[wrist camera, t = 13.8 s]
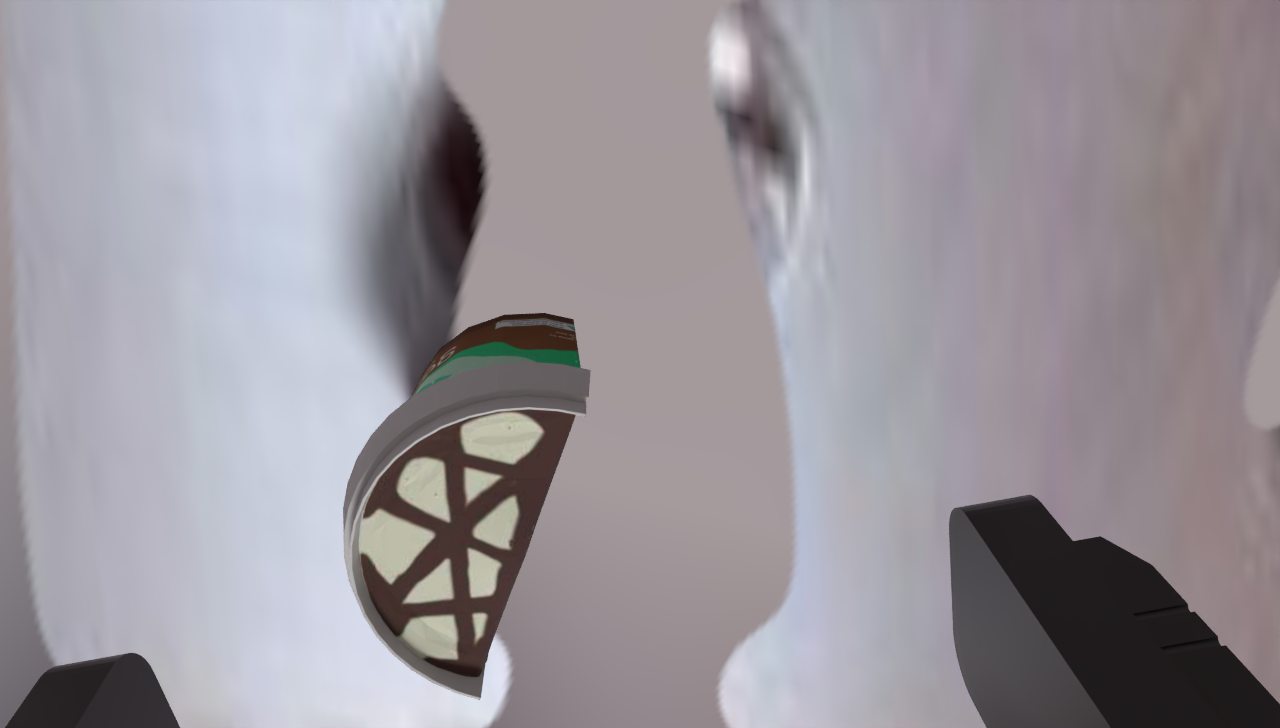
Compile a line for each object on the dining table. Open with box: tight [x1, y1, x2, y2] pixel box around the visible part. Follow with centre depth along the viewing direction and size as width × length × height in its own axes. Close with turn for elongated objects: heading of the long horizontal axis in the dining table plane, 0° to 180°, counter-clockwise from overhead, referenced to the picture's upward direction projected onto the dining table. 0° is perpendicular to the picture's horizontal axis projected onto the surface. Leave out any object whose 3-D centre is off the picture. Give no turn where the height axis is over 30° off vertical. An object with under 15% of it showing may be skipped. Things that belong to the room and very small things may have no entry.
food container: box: [343, 313, 590, 700], centre depth 35 cm, size 12×6×10 cm, turn 160°
